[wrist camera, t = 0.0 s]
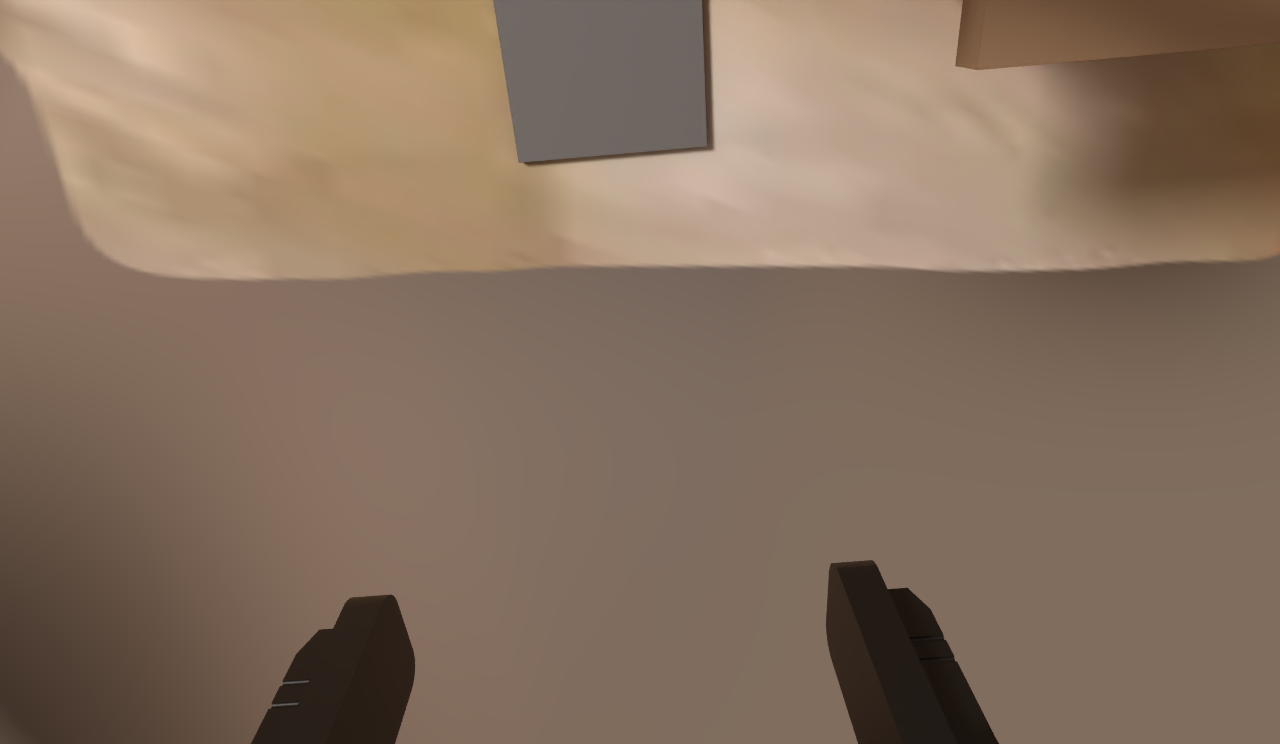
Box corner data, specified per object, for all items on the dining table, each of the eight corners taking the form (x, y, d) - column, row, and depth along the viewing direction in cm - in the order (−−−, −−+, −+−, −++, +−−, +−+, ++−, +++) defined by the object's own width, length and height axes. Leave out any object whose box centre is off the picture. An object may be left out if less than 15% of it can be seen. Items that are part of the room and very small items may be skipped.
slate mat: (486, -57, 33) (484, -58, 33) (698, -77, 33) (699, -78, 32) (520, 160, 38) (518, 162, 37) (706, 144, 37) (707, 146, 37)
